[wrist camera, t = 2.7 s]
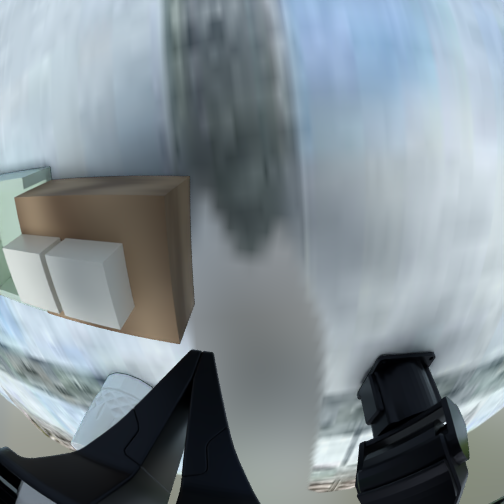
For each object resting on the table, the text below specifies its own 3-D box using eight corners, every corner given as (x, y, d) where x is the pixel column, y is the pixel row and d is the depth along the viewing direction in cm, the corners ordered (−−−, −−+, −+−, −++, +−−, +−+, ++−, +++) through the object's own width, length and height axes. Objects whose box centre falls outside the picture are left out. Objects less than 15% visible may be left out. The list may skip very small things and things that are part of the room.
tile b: (60, 237, 13) (38, 253, 11) (75, 294, 14) (59, 314, 13) (21, 234, 13) (2, 248, 11) (37, 285, 15) (21, 301, 13)
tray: (50, 166, 15) (22, 177, 12) (76, 294, 20) (59, 315, 17) (-11, 176, 15) (-33, 187, 12) (14, 278, 20) (-3, 293, 17)
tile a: (122, 243, 12) (102, 263, 11) (134, 306, 14) (120, 329, 13) (65, 238, 13) (44, 254, 11) (81, 296, 14) (65, 315, 13)
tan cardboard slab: (189, 176, 15) (164, 195, 11) (194, 304, 19) (179, 344, 15) (51, 179, 15) (14, 197, 12) (73, 284, 19) (48, 313, 16)
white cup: (95, 361, 24) (57, 432, 15) (160, 379, 24) (131, 464, 15) (114, 398, 28) (88, 460, 19) (170, 414, 28) (151, 483, 19)
